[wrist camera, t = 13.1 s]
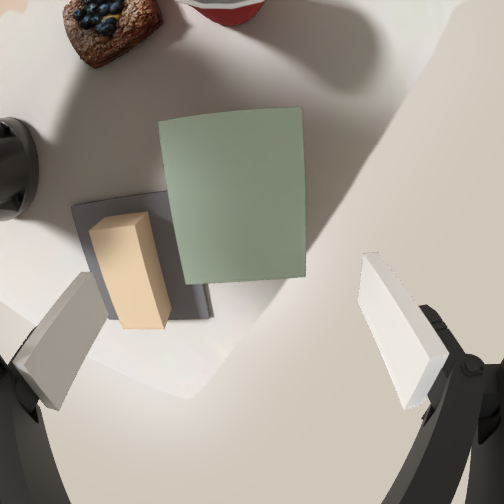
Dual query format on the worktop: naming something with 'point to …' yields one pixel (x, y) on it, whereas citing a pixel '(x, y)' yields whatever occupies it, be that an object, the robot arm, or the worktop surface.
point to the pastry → (109, 27)
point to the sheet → (237, 193)
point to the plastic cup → (226, 9)
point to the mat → (165, 245)
